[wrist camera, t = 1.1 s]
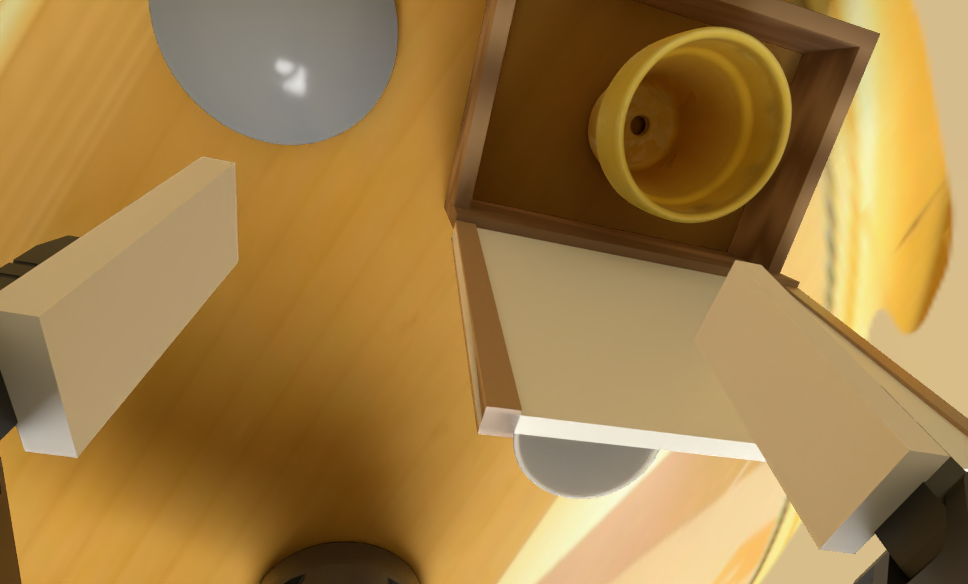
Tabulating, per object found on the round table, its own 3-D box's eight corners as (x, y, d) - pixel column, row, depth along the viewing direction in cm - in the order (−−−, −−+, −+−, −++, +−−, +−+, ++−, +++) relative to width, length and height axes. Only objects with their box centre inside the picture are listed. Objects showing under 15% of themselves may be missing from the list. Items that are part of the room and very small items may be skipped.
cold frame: (733, 266, 42) (793, 295, 36) (444, 207, 37) (453, 229, 31) (820, 42, 37) (909, 29, 31) (499, -61, 32) (524, -104, 26)
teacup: (571, 455, 46) (603, 522, 39) (470, 404, 43) (485, 466, 36) (669, 331, 44) (724, 378, 36) (569, 266, 40) (607, 303, 33)
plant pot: (683, 21, 35) (780, -8, 26) (712, 165, 39) (807, 184, 30) (542, 79, 35) (592, 70, 26) (586, 218, 39) (642, 253, 30)
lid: (773, 339, 37) (1024, 497, 22) (442, 282, 32) (478, 437, 17) (796, 287, 36) (1077, 417, 21) (455, 219, 31) (507, 326, 16)
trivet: (378, 164, 36) (377, 166, 34) (153, 115, 33) (144, 116, 32) (416, -68, 31) (417, -75, 30) (162, -148, 28) (152, -159, 27)
